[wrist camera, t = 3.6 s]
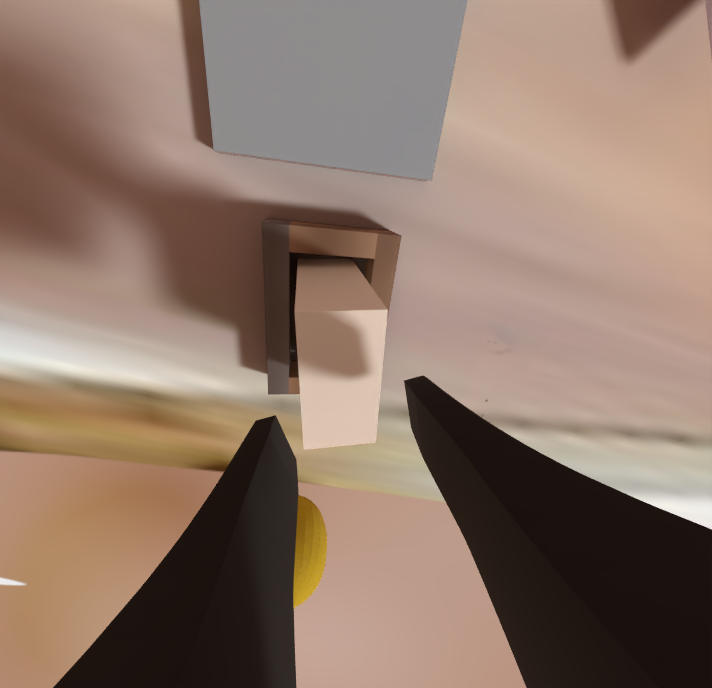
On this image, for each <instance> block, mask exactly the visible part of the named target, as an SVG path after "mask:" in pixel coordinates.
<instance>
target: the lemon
mask: <svg viewBox="0 0 712 688" xmlns="http://www.w3.org/2000/svg"><path fill="white" fill-rule="evenodd" d="M326 551H327V534H326V528H325V523H324V520H323V517H322V515H321V513H320V511H319V509H318V508H317V506H316V505H315V504H314V503H312V501H311V500H309V499H307V498H305V497H303V496H299V495H298V511H297V530H296V548H295V565H294V592H293V606H294V608H295V607H296V606H298V605H300V604H301V603H303V602H304V601H305V600H306V599H307V598H308V597H309V596H311V594H312V593H313V592H314V591H315V589H316V587H317V586H318V584H319V582H320V580H321V577H322V575H323V571H324V567H325V561H326Z"/></svg>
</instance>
